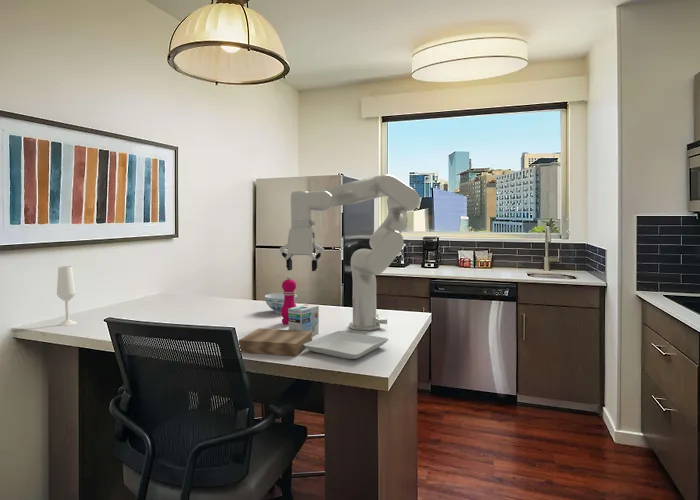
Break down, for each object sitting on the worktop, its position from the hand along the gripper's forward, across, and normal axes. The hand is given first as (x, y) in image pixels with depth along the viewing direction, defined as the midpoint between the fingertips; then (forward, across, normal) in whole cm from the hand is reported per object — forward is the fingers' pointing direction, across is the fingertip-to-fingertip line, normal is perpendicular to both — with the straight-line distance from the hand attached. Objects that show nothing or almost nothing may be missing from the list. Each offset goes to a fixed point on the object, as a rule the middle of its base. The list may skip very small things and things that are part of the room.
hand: (301, 270), depth 164 cm
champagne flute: (+24, +101, +8) cm, 104 cm away
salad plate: (+25, -21, +15) cm, 36 cm away
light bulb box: (+25, -1, +1) cm, 25 cm away
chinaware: (+25, +25, -36) cm, 50 cm away
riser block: (+24, +3, +18) cm, 30 cm away
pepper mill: (+25, +12, -16) cm, 32 cm away
